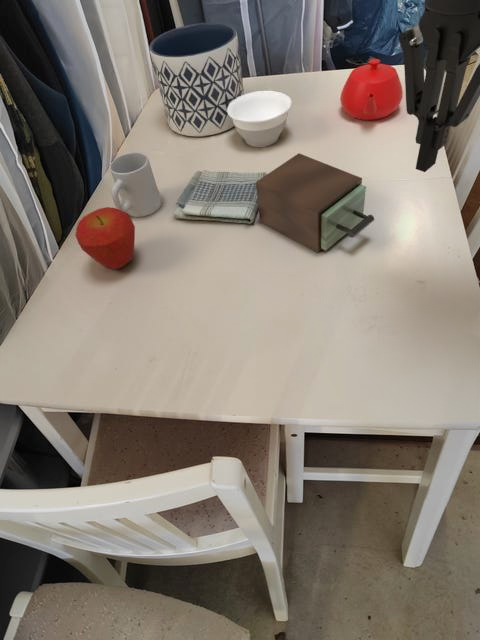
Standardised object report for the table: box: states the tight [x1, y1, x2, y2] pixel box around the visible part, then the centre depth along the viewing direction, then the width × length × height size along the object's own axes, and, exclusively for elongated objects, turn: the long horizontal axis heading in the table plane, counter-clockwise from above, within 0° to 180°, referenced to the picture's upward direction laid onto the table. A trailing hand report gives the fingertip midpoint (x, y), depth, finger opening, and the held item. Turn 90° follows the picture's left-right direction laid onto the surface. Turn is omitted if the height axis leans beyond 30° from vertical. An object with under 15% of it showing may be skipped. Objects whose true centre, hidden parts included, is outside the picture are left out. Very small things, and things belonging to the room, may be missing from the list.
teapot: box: [340, 58, 404, 121], centre depth 112 cm, size 25×16×12 cm, turn 167°
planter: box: [148, 22, 245, 137], centre depth 118 cm, size 22×22×20 cm
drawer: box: [320, 184, 375, 251], centre depth 85 cm, size 19×11×8 cm, turn 44°
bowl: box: [227, 90, 293, 148], centre depth 112 cm, size 16×16×8 cm
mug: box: [109, 152, 163, 218], centre depth 97 cm, size 12×8×11 cm
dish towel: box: [173, 169, 268, 225], centre depth 99 cm, size 19×18×3 cm
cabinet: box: [256, 153, 363, 253], centre depth 87 cm, size 16×13×10 cm
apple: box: [74, 206, 136, 270], centre depth 86 cm, size 11×11×12 cm
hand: (425, 166), depth 64 cm, fingers closed
